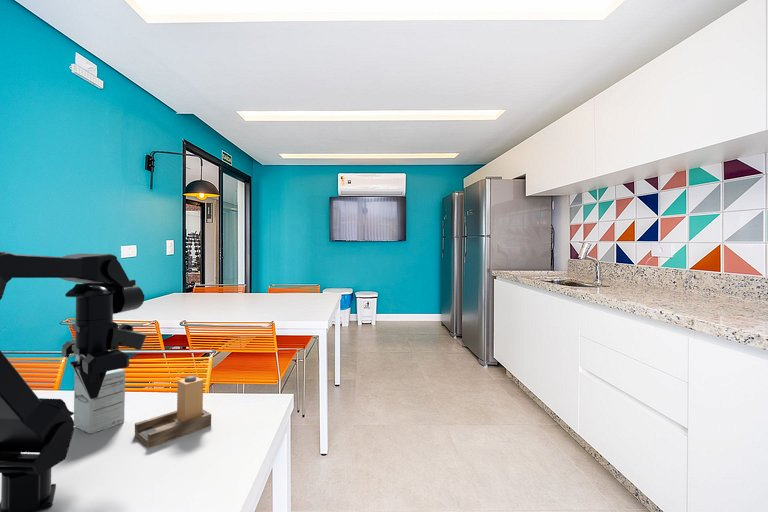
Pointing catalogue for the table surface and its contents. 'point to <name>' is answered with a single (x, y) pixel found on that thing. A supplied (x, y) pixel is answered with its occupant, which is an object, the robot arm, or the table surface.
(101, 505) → the table surface
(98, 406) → the supplement box
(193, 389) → the block
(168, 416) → the box
